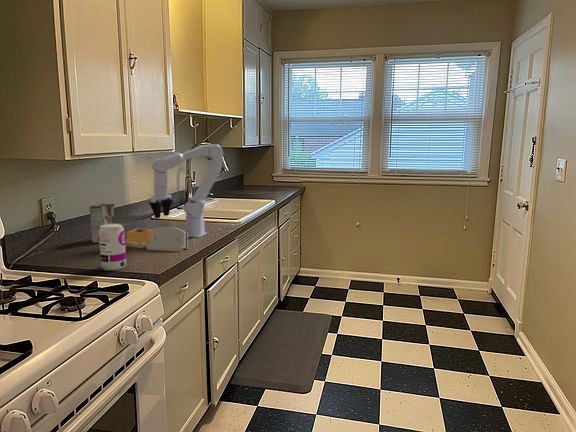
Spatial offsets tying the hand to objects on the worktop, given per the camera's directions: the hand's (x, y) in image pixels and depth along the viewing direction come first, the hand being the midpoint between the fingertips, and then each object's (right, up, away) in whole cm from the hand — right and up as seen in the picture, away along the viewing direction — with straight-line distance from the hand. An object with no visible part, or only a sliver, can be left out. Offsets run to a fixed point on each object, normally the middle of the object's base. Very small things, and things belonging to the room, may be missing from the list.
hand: (161, 216), depth 197 cm
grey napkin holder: (+7, -13, -15) cm, 21 cm away
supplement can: (-5, -18, -42) cm, 46 cm away
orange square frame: (-7, -10, -6) cm, 14 cm away
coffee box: (-26, -11, 0) cm, 28 cm away
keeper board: (-8, -12, -6) cm, 15 cm away
